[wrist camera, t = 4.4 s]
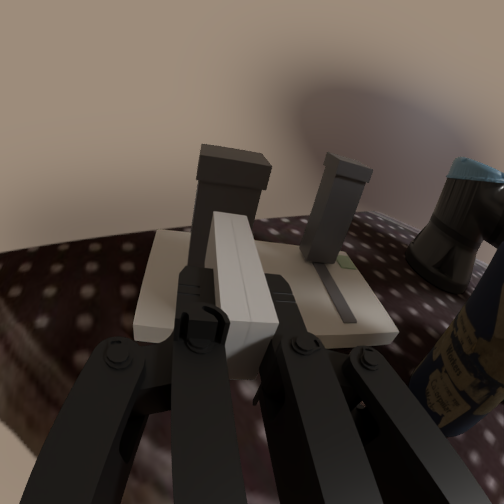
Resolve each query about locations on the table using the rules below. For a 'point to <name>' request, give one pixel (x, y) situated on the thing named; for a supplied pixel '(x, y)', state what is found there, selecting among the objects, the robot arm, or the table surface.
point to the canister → (467, 359)
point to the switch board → (301, 283)
